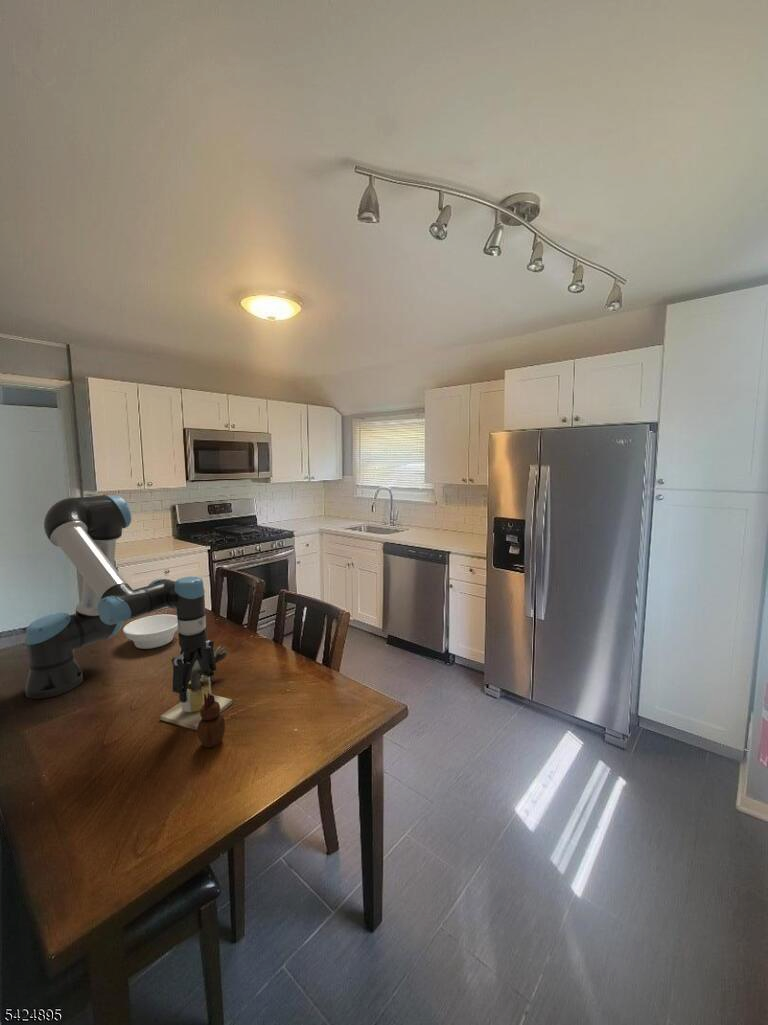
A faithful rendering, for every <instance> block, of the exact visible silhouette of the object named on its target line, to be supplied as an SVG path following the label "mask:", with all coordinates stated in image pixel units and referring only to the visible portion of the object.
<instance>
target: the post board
mask: <svg viewBox="0 0 768 1025" xmlns="http://www.w3.org/2000/svg"><path fill="white" fill-rule="evenodd" d="M200 688H201V680H200V674H199V672H193V673H192V674H191V690H195V689H200ZM213 695H214V699H215V701H216V702H218V703H219V705H220V713H221V714H222V712H224V711H225V710H226V709H227V708H228V707H230V706H231V705H232V704H234V703H233V699H231V698H227V697H224V696H219V695H216V694H213ZM200 711H201V710H198V711H194V712H186V711H182V702H179V703H177V704H175V705H174V706H173V707H171V708H170V709H168V710H167V711H165V712H164V713H162V714H161V715H160V721H164V722H167V723H171V724H175V725H177V726H179V727H180V726H181V727H184V728H186V729H191V730H195V731H197V727H198V724H199V722H200V720H201V719H202V717H201V715H200Z"/></svg>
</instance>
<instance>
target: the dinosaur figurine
mask: <svg viewBox="0 0 768 1025" xmlns="http://www.w3.org/2000/svg"><path fill="white" fill-rule="evenodd" d="M223 645H224V643H222V644H221V645H220V646H218V647H217V648H216V649H215V651H214V656H215V662H216V664H217V663H219V662H221V661H222V660H225V659H226V658H227V656H228V653H227V652H226V651H227V650H224V649H225V648H226V646H223ZM222 646H223V647H222ZM204 652H205V651H204ZM211 666H212V665H211ZM193 672H199V674H200V679H201V676H203V675H205V674H203V672H202V669H201V667H200V665H199V663H198V661H196V662H195V663H194V666H193V667H192V671H191V674H192V673H193ZM211 680H212V683H211V684H214V683H215V682H216V680H214V679H213V678H211ZM189 681H191V675H190V680H189Z"/></svg>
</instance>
